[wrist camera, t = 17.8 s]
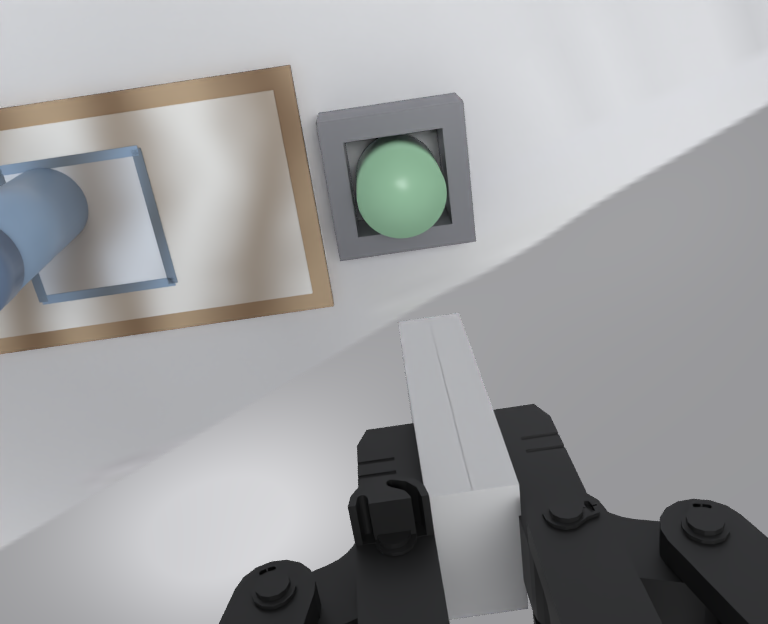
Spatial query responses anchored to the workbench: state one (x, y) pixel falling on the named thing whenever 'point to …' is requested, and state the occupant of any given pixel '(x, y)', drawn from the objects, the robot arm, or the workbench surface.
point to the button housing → (388, 121)
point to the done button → (399, 186)
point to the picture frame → (170, 209)
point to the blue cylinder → (36, 225)
